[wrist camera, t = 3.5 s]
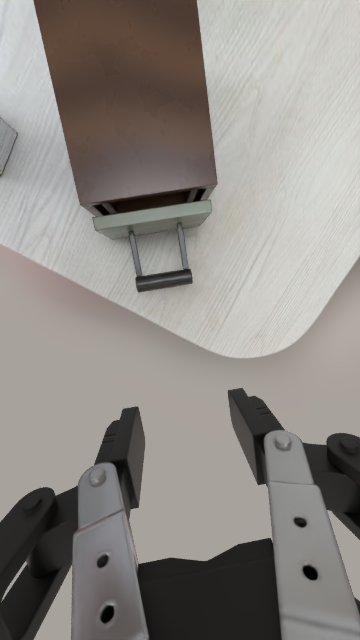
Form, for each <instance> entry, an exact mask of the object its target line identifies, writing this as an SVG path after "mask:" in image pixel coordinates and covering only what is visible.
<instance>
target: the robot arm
mask: <svg viewBox="0 0 360 640" xmlns="http://www.w3.org/2000/svg"><path fill="white" fill-rule="evenodd" d="M228 399H229V407H230V415H231V421H232V424H233V428H234V431H235V433H236V436H237V438H238V440H239V442H240V445H241V447H242V449H243V451H244V454H245V456H246V458H247V461H248V463H249V465H250V468H251V470H252V472H253V475H254V477H255V479H256V481H257V484H258V485H261V484H266V485H267V487H268V492H269V502H270V503H269V504H270V515H271V526H272V537H273V543H272V540H271V538H268V539H262V540H258V541H252V542H248V543H242V544H238V545H236V546H234V547H233V548H231V549H229V550H227V551H225V552H223V553H221V554H220V555H218V556H216V557H214V558H212V559H210V560H208V561H196V560H187V559H178V558H167V559H162V560H157V561H152V562H147V563H142V564H139V563H138V559H137V554H136V550H135V545H134V540H133V536H132V531H131V526H130V523H129V517H130V509H133V508H138V507H139V500H140V490H141V480H142V471H143V460H144V450H145V436H144V431H143V426H142V422H141V417H140V412H139V408H138V407H132V408H126V409H123V410H122V414H121V417H120V420H116V421H113V422H112V423H111V424H110V426H109V427H108V428H107V430H106V433H105V435H104V438H103V441H102V444H101V447H100V450H99V453H98V455H97V458H96V461H95V464H94V466H92V467H90V468H89V469H88V470H87V471H85V472H84V474H83V475H82V476H81V478H80V480H79V483H78V486H76V487H74V488H72V489H70V490H68V491H66V492H63V493H61V494H59V495H57V496H55V493H54V491H53V489H51V488H48V487H43V488H39V489H36V490H34V491H32V492H30V493H28V494H27V495H25V496H24V497H23V498H22V499H21V500H19V502H18V503H17V504H16V505H15V506H14V507H13V508H12V509H11V511H10V512H9V513H8V514H7V515H6V516H5V518H4V519H3V520H2V521H1V522H0V640H33V639H34V638H35V636H36V634H37V631H38V630H39V628H40V626H41V624H42V622H43V620H44V618H45V616H46V614H47V612H48V610H49V608H50V606H51V604H52V602H53V600H54V599H55V597H56V595H57V593H58V591H59V589H60V586H61V585H62V583H63V581H64V579H65V577H66V575H67V573H68V571H69V569H70V567H71V565H72V615H71V616H72V617H71V640H360V601H359V600H357V599H356V598H355V597H354V596H353V592H352V589H351V586H350V583H349V580H348V576H347V573H346V570H345V567H344V563H343V561H342V557H341V554H340V551H339V548H338V544H337V541H336V538H335V535H334V532H333V528H332V525H331V522H330V519H329V516H328V512H327V510H330V511H332V512H333V514H334V515H335V516H336V517H337V518H338V519H339V520H340V521H341V522H342V523H343V524H344V525H345V526H346V527H347V528H348V529H349V530H350V531H352V533H353V534H355V536H356V537H357V538H358V539H359V540H360V438H359V437H357V436H354V435H350V434H346V433H336V434H333V435H331V436H329V437H328V438H327V441H326V442H327V445H317V444H307V443H303V442H302V441H301V439H300V438H299V437H298V436H296V435H295V434H293V433H291V432H288V431H285V430H284V428H283V427H282V426H281V424H280V423H279V422H278V420H277V419H276V417H275V416H274V415H273V413H271V411H270V410H269V408H268V407H267V406H266V404H265V403H264V401H263V400H261V399H259V398H258V397H256V396H251V397H248V396H247V394H246V393H245V391H244V390H243V388H239V389H233V390H228ZM25 561H26V562H27V565H26V566H25V568H24V569H23V571H22V572H21V574H20V575H19V577H18V578H17V580H16V581H15V583H14V584H13V586H12V588H11V589H10V590H9V592H8V593H7V595H6V596H5V598H4V600H3V601H2V598H3V595H4V593H5V591H6V589H7V587H8V586H9V585H10V583H11V581H12V580H13V579H14V577H15V575H16V574H17V573H18V571H19V570H20V568H21V567H22V565H23V564H24V562H25ZM1 601H2V602H1Z"/></svg>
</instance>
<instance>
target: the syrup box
mask: <svg viewBox="0 0 360 640" xmlns="http://www.w3.org/2000/svg"><path fill="white" fill-rule="evenodd" d="M16 136H17V132H15V131H14V130H13V129H12V128H11V127H10V126H9V125H8V124H7V123H6V122H5V121H4V120H3V119H2V118H1V117H0V176H1V174H2V171H3V169H4V167H5V164H6V162H7V159H8V157H9V154H10V152H11V149H12V146H13V144H14V141H15V139H16Z"/></svg>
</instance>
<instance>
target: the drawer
mask: <svg viewBox="0 0 360 640" xmlns="http://www.w3.org/2000/svg"><path fill="white" fill-rule="evenodd" d="M197 191H198V190H192V191H185V192H178V193H172V194H165V195H159V196H152V197H146V198H139V199H132V200H126V201H119V202H113V203H106V204H101V205H102V206H103V207H104V208H105V209H106V210H107V211H108V212H109V213H110V214H111V215H106V216H99V217H93V218H92V219H93V223H94V228H95V230H96V231H98V232H99V233H101V234H103V235H105V236H107V237H109V238H110V239H116V238H123V237H129V238H130V243H131V248H132V253H133V259H134V264H135V269H136V274H137V277H136V286H137V290H138V292H144V291H150V290H157V289H163V288H169V287H175V286H181V285H187V284H192V282H193V281H192V273H191V270H190V269H188V261H187V254H186V247H185V240H184V234H183V228H187V227H193V226H199V225H201V224H202V223H203V222H204V221H205V219H206V218H207V217H208V216H209V215H210V214H211V213H212V207H211V200H204V201H197V202H193V200H194V198H195V195H196V193H197ZM174 229H177V231H178V238H179V244H180V251H181V258H182V264H183V269H184V270H177V271H171V272H165V273H159V274H153V275H147V276H142V271H141V266H140V260H139V255H138V250H137V244H136V239H135V236H136V235H142V234H148V233H155V232H161V231H168V230H174Z"/></svg>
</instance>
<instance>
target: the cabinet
mask: <svg viewBox="0 0 360 640" xmlns="http://www.w3.org/2000/svg"><path fill="white" fill-rule="evenodd" d="M34 5H35V9H36V14H37V18H38V22H39V27H40V31H41V36H42V40H43V44H44V49H45V53H46V57H47V62H48V66H49V71H50V75H51V79H52V84H53V88H54V93H55V97H56V101H57V106H58V110H59V114H60V119H61V123H62V128H63V132H64V136H65V141H66V145H67V150H68V154H69V158H70V163H71V167H72V171H73V176H74V180H75V185H76V189H77V193H78V198H79V202H80V205H81V206H83V207H84V208H85V209H87V210H88V211H89V212H91V213H92V214H93V215H95V216H96V217H99V216H106V215H111V214H110V213H109V212H108V211H107V210H106V209H105V208H104V207H103V206H102V205H101V204H106V203H113V202H119V201H126V200H132V199H139V198H146V197H152V196H159V195H165V194H172V193H178V192H185V191H192V190H198V191H197V193H196V195H195V198H194V200H193V202H197V201H204V200H207V199H208V197H209V196H210V194H211V193H212V191H213V190H214V188H215V187H216V185H217V175H216V167H215V158H214V149H213V140H212V131H211V122H210V114H209V105H208V96H207V87H206V78H205V70H204V61H203V52H202V43H201V34H200V25H199V17H198V8H197V0H34Z"/></svg>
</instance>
